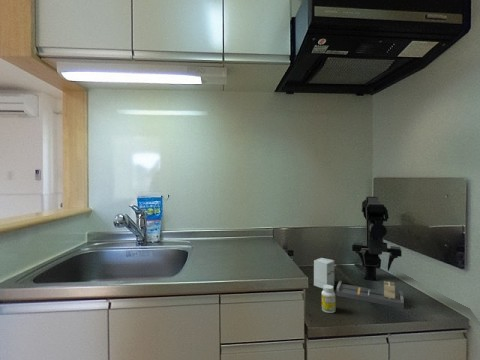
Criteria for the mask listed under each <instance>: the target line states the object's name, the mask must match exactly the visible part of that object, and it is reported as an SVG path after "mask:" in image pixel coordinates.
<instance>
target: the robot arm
mask: <svg viewBox="0 0 480 360" xmlns="http://www.w3.org/2000/svg"><path fill="white" fill-rule="evenodd" d="M378 198H379V197H377V196H370V195H369V196H366V197H365V199H364V200H363V201H362V202H361V213H362V215H363V217H364V219H365V220H366V221H365V223H366V224H365V225H366V226H365V227H366V229H365V230H366V233H365V236H366V237H365V238H366V239H365V240H366V241H365V242H366V244H365V245H364V244H363V242H356V241H355V242H353V243H352V245H351V251H352V252H355V254H357V255H358V256H359V258H360V260H361V268H362V267H363V268H364V274H363V278H362V279H364V280H369V281H374V282H375V281H376V282H377V281H378V275H377V272H378V271H377V270H378V269H380V268H381V267H382V259H381V258H380V256H381V255H383V253H387V254H388V253H389V255H388V263H387V272H389V271H390V269H391V266H392V263H393V262H394V260H395V259H398V257H402V254H403V253H402V248H401V247H400V246H395V245H390V247H388V242H384V237H385V236H386V235H387V232H388V229H387V227H386V226H385V225H384V222H388V220H389V218H390V217H389V213H388V211H389V210H388V209H387V207H386V206H385V204H384V203H381V202H380V201H379V199H378Z"/></svg>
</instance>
